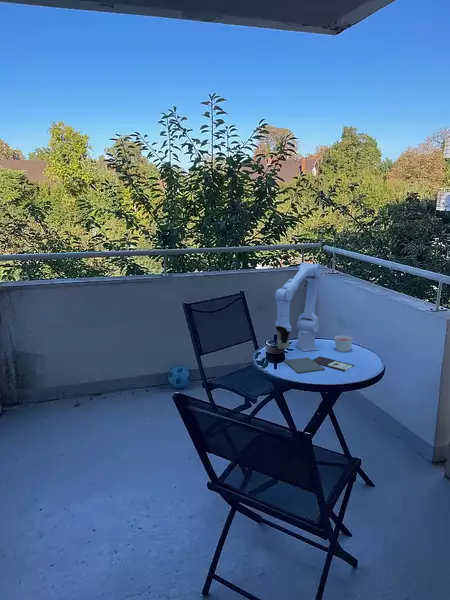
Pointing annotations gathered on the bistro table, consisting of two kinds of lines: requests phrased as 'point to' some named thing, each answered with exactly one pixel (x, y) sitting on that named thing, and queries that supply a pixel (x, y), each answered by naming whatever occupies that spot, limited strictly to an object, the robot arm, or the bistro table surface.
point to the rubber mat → (303, 365)
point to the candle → (343, 343)
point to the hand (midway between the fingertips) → (283, 342)
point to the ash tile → (282, 345)
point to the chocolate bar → (332, 363)
